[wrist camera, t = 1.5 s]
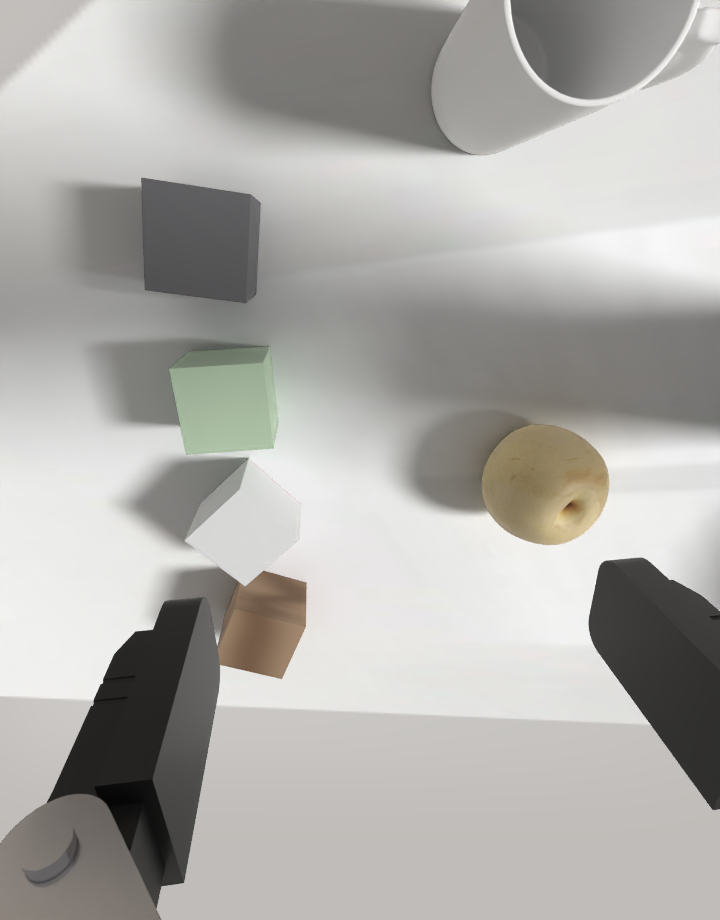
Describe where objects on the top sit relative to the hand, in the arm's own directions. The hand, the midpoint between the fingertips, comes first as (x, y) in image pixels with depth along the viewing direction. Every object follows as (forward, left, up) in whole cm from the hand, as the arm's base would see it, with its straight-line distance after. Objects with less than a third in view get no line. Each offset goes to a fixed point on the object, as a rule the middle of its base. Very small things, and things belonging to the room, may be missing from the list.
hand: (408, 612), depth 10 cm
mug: (0, -18, -24) cm, 30 cm away
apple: (-15, -1, -24) cm, 29 cm away
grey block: (0, +12, -24) cm, 27 cm away
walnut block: (-5, +19, -24) cm, 31 cm away
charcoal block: (+10, -2, -24) cm, 26 cm away
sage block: (+5, +5, -24) cm, 25 cm away
